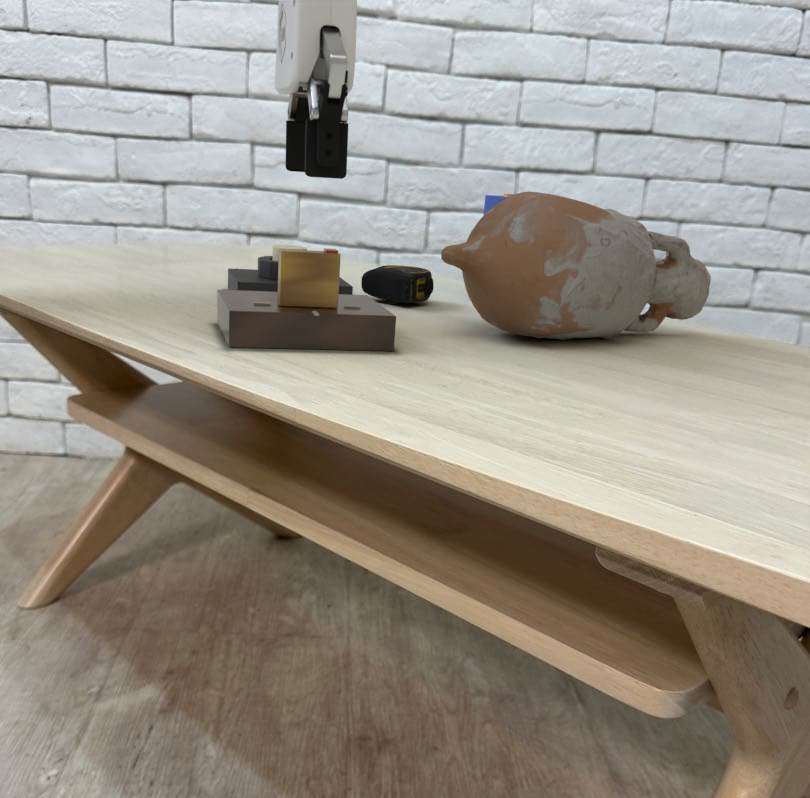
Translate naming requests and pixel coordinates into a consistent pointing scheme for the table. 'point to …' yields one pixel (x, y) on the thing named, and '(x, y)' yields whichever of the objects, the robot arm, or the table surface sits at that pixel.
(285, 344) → the plate
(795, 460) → the table surface
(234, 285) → the dark grey stepped block
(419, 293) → the tape measure
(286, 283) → the gold rectangular block
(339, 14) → the robot arm
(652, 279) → the amphora
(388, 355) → the table surface
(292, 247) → the bell button
